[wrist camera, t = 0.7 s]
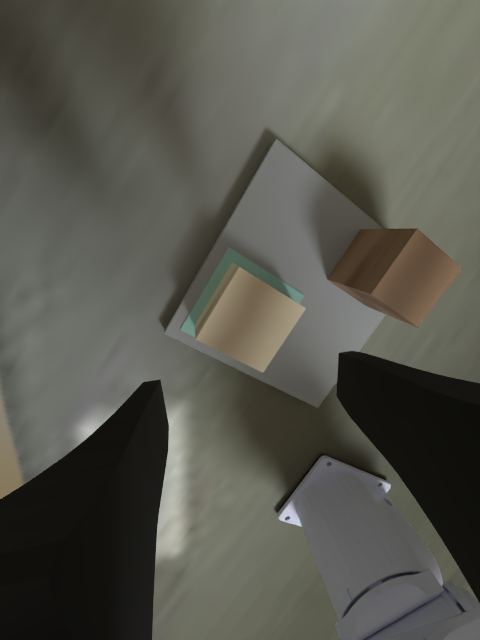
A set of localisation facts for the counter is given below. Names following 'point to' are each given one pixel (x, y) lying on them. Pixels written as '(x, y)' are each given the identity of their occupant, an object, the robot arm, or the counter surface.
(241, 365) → the board
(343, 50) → the counter surface
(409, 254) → the walnut block
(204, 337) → the base block
